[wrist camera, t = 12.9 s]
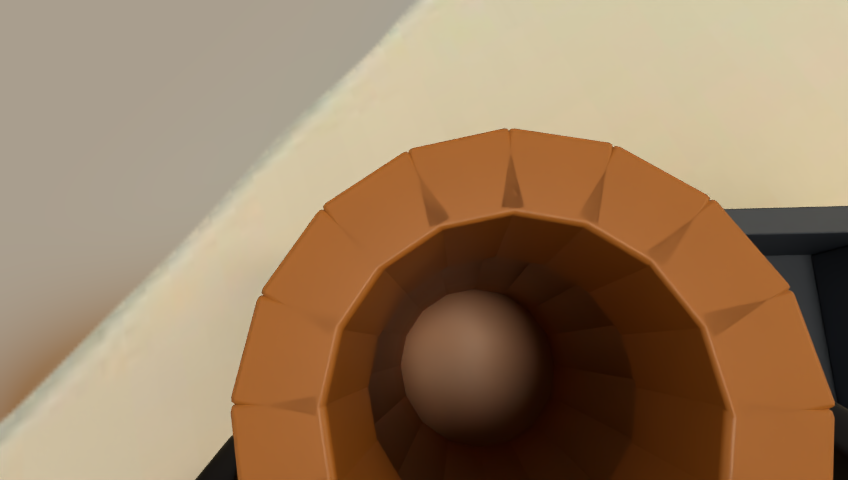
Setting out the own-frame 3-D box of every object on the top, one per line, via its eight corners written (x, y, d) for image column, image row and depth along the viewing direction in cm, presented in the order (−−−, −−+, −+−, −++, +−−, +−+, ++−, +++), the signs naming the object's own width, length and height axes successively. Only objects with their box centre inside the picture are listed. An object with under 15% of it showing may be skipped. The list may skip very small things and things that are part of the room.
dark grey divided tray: (870, 503, 16) (1003, 554, 12) (349, 497, 17) (317, 541, 13) (819, 235, 18) (921, 203, 14) (355, 245, 19) (329, 218, 15)
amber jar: (548, 472, 16) (828, 857, 4) (376, 433, 17) (157, 663, 5) (571, 297, 17) (847, 175, 5) (410, 268, 18) (308, 95, 6)
